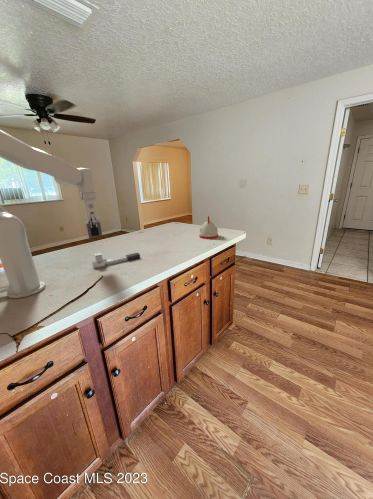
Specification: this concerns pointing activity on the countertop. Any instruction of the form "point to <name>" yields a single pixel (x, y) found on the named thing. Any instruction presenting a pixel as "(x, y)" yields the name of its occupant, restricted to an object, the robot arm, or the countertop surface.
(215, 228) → the grey bell
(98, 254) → the ratchet
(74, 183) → the robot arm
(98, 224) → the socket
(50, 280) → the countertop surface
